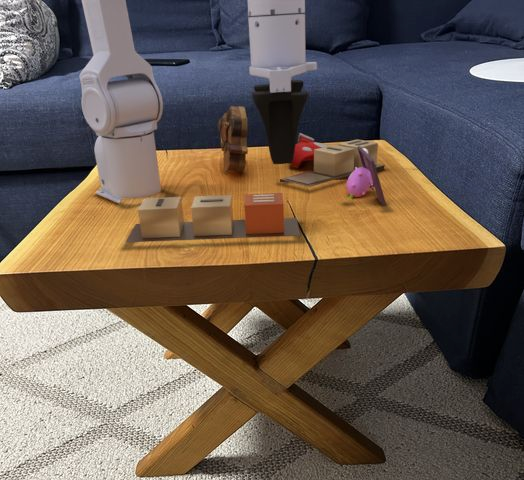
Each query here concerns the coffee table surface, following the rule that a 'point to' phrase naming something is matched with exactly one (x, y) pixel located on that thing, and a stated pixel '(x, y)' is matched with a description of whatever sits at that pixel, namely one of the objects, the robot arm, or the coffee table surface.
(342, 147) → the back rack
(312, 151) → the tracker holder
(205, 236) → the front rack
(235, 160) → the wooden carving
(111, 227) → the coffee table surface
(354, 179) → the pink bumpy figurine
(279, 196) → the terracotta cube
